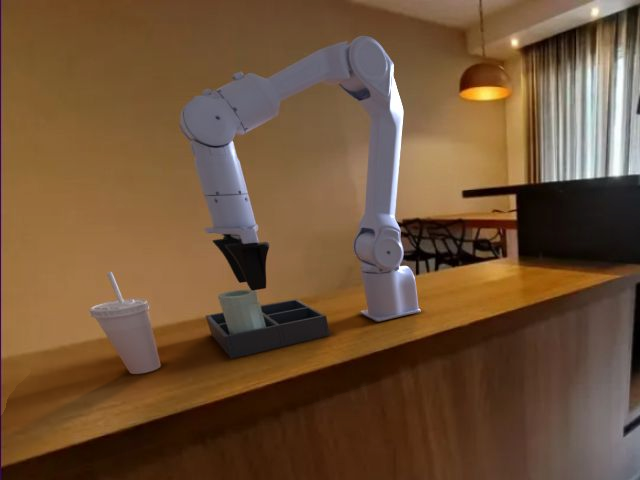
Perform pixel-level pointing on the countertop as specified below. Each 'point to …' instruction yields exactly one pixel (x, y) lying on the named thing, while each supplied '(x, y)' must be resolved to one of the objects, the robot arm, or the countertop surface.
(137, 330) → the smoothie
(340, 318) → the countertop surface
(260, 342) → the tray
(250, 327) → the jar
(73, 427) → the countertop surface
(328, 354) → the countertop surface
